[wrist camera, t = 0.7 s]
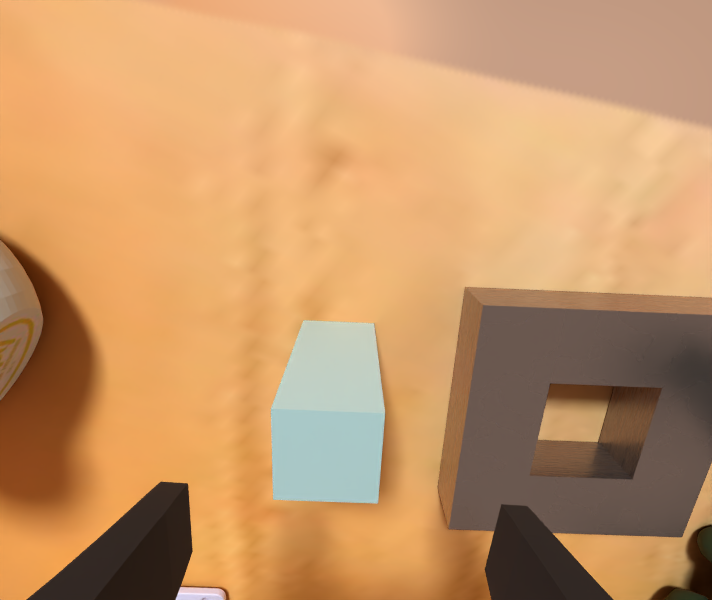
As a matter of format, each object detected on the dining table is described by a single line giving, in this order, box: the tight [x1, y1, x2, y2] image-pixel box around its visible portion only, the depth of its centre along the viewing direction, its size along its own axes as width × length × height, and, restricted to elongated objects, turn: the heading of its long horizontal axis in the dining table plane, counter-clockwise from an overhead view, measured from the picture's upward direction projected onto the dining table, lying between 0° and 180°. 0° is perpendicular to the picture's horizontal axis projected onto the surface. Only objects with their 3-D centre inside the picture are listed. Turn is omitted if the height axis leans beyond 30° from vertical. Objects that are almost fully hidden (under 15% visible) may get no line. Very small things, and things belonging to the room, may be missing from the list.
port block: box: [438, 287, 712, 537], centre depth 17 cm, size 11×11×2 cm
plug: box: [271, 320, 385, 503], centre depth 15 cm, size 3×3×7 cm
